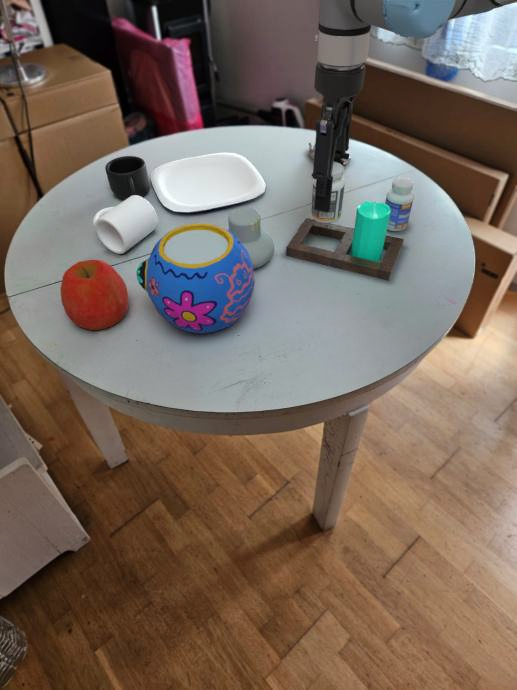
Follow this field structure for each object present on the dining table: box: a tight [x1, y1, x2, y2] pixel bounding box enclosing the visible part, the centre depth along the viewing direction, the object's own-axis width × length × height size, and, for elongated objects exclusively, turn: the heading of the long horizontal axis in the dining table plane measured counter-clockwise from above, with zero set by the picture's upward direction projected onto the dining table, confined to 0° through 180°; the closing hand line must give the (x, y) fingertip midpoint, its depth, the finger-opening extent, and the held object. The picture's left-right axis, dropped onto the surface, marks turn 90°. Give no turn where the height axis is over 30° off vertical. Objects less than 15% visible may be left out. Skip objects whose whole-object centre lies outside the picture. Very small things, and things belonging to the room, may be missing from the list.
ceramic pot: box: [136, 223, 256, 334], centre depth 77 cm, size 18×18×15 cm
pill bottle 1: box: [310, 162, 346, 224], centre depth 87 cm, size 6×6×10 cm
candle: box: [349, 200, 391, 262], centre depth 88 cm, size 6×6×12 cm
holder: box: [285, 217, 405, 281], centre depth 93 cm, size 21×11×2 cm, turn 66°
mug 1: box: [104, 155, 150, 200], centre depth 108 cm, size 12×9×7 cm
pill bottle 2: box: [384, 177, 415, 232], centre depth 96 cm, size 5×5×10 cm
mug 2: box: [92, 195, 159, 255], centre depth 96 cm, size 12×10×8 cm
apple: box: [60, 258, 129, 331], centre depth 79 cm, size 11×11×11 cm
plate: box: [149, 152, 267, 214], centre depth 112 cm, size 25×25×2 cm
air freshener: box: [227, 207, 275, 270], centre depth 89 cm, size 11×8×10 cm
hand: (327, 200), depth 88 cm, fingers closed on pill bottle 1, 6 cm apart
